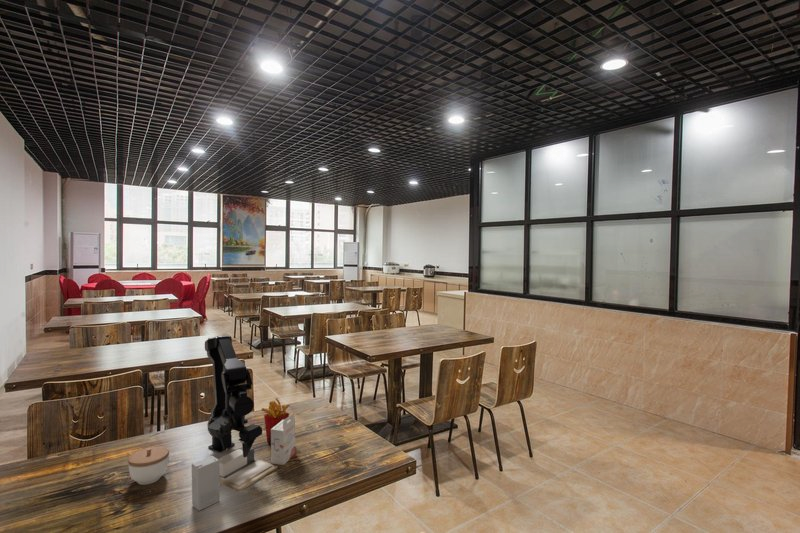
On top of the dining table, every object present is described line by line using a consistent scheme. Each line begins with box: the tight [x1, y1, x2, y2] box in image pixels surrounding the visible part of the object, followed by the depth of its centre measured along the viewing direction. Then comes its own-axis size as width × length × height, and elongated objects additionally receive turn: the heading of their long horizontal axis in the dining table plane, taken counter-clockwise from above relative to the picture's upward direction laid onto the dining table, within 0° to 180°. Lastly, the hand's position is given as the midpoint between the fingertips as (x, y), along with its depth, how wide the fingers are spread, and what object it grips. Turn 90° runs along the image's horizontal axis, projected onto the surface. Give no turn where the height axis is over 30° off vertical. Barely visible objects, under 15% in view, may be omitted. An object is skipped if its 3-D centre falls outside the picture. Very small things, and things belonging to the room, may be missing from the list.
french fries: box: [260, 397, 291, 443], centre depth 153 cm, size 9×8×15 cm
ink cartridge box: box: [270, 412, 296, 466], centre depth 139 cm, size 9×5×15 cm, turn 168°
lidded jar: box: [127, 446, 170, 486], centre depth 126 cm, size 11×11×9 cm
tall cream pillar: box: [217, 446, 255, 477], centre depth 132 cm, size 4×12×4 cm, turn 151°
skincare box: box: [191, 455, 221, 512], centre depth 114 cm, size 6×4×12 cm
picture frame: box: [219, 457, 279, 492], centre depth 132 cm, size 20×15×1 cm
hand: (235, 453), depth 132 cm, fingers open, 9 cm apart
